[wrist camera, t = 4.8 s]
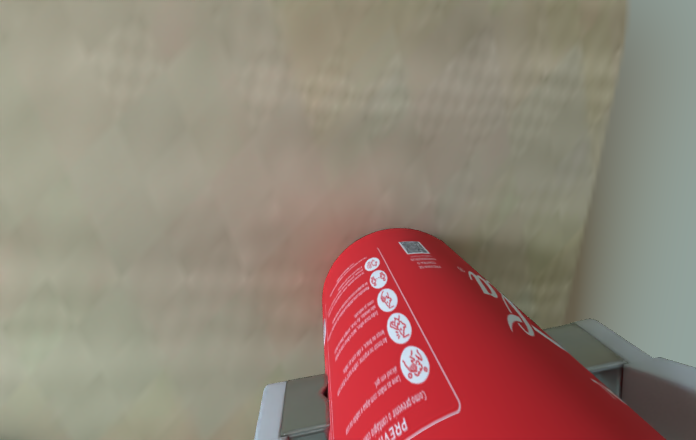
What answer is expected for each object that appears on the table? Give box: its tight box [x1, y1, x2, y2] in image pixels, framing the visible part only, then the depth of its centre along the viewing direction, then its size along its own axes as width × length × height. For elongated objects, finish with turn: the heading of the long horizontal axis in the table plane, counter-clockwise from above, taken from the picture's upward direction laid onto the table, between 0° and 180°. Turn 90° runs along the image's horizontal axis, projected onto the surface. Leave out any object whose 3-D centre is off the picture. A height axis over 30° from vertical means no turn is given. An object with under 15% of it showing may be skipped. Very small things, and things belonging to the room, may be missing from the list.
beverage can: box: [322, 228, 666, 440], centre depth 8 cm, size 5×5×12 cm
